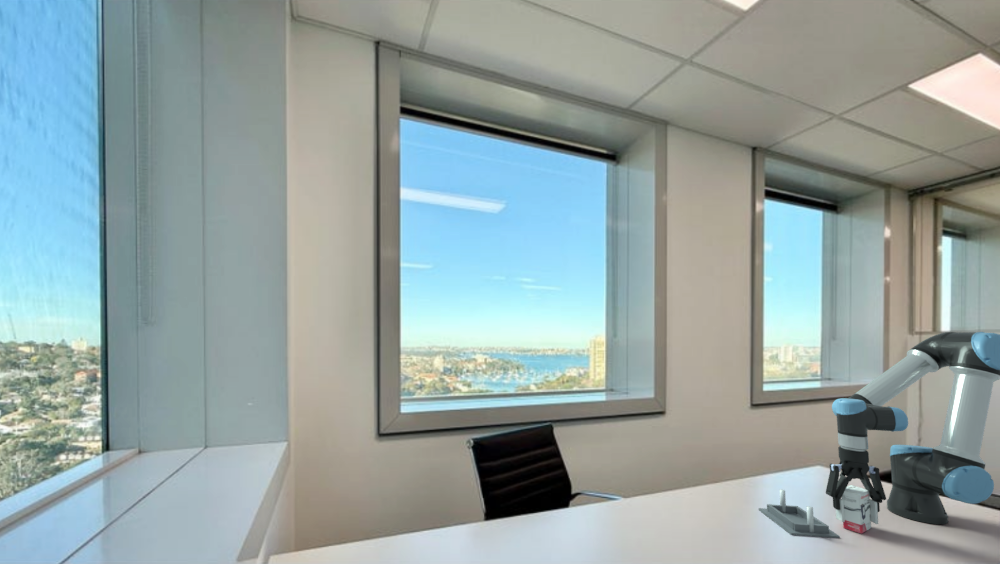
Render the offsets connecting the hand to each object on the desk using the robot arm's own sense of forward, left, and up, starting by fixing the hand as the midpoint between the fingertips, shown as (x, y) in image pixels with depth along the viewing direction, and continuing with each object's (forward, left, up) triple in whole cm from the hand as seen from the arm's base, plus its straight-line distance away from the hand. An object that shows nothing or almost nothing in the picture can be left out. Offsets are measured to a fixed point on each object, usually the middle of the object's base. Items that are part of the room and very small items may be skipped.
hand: (856, 521), depth 135 cm
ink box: (0, 0, -2) cm, 2 cm away
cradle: (+18, -1, -2) cm, 18 cm away
